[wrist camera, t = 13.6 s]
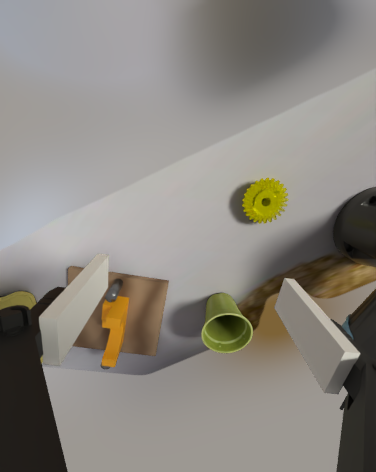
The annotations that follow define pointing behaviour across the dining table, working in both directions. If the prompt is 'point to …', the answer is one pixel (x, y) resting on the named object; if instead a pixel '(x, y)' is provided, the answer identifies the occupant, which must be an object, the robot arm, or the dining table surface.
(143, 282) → the base plate
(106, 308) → the pipe clamp
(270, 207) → the gear
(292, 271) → the dining table surface
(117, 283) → the locating stubs
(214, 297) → the plant pot
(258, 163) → the dining table surface
